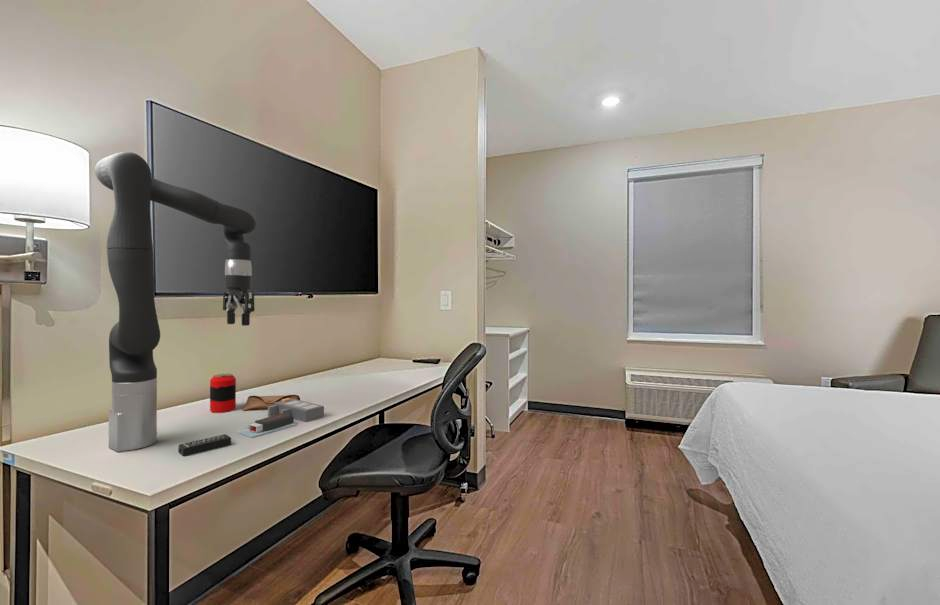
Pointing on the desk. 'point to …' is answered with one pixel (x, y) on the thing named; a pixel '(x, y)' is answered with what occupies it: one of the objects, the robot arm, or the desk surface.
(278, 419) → the usb drive
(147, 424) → the robot arm
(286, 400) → the grey stepped block
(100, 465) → the desk surface
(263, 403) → the sunglasses case
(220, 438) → the multiport hub
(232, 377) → the soda can
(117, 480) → the desk surface
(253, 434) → the silicone mat
